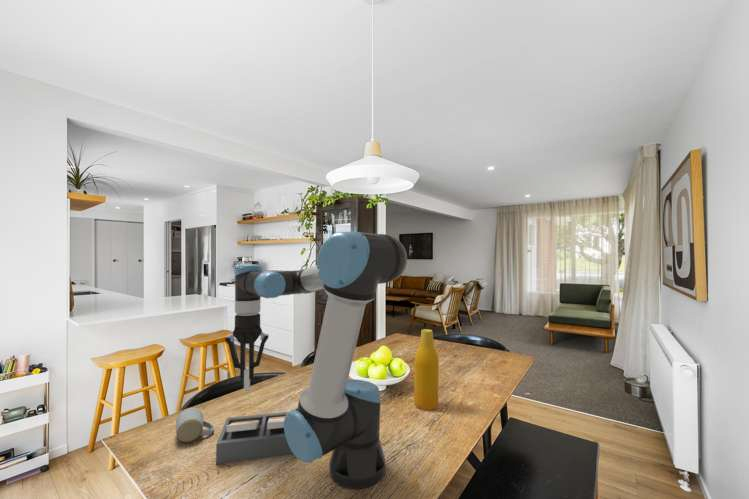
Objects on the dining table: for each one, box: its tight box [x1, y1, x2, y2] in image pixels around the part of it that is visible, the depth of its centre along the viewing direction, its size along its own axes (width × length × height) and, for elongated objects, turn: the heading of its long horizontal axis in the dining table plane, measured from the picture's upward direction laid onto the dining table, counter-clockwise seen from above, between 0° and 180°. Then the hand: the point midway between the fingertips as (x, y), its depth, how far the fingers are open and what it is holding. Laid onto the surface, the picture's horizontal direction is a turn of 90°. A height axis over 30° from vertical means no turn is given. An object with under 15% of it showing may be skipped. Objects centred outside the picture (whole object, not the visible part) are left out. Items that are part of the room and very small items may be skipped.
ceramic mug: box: [175, 407, 215, 443], centre depth 105 cm, size 11×8×8 cm
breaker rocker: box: [226, 420, 259, 432], centre depth 100 cm, size 10×9×2 cm
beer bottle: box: [413, 328, 440, 411], centre depth 129 cm, size 9×9×29 cm
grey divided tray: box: [215, 411, 295, 465], centre depth 101 cm, size 15×23×8 cm, turn 104°
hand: (246, 389), depth 104 cm, fingers closed
